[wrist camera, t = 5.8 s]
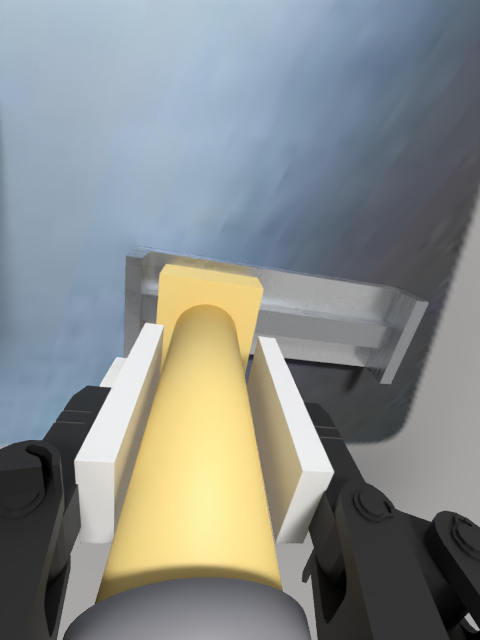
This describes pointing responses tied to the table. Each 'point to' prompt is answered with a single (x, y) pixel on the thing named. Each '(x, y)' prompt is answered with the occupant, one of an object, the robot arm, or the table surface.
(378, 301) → the rail
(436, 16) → the table surface
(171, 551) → the sliding lever handle
